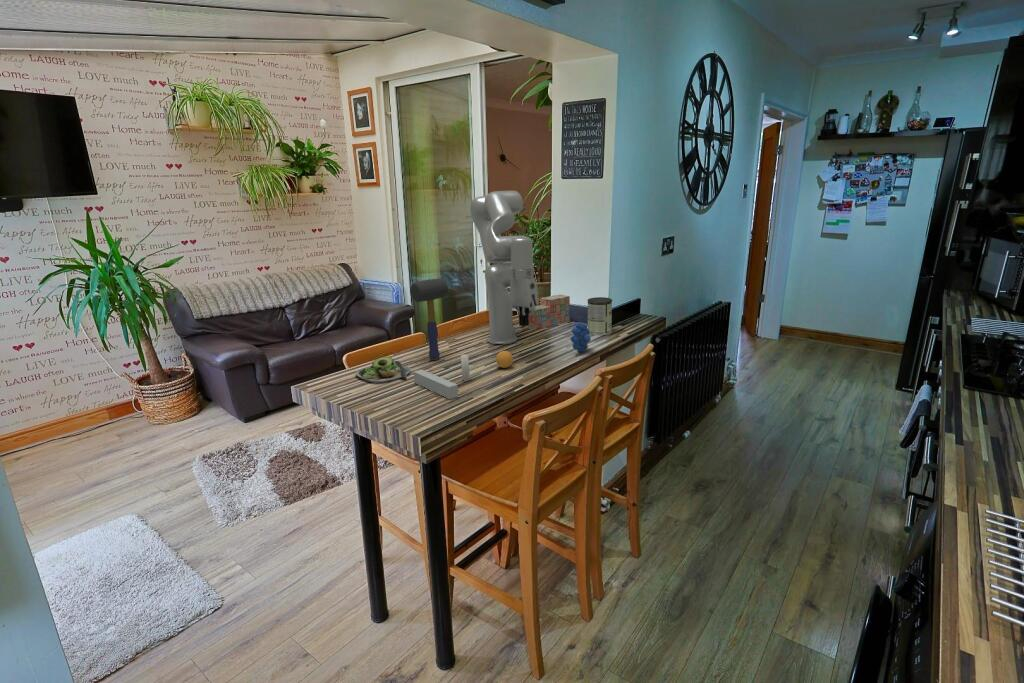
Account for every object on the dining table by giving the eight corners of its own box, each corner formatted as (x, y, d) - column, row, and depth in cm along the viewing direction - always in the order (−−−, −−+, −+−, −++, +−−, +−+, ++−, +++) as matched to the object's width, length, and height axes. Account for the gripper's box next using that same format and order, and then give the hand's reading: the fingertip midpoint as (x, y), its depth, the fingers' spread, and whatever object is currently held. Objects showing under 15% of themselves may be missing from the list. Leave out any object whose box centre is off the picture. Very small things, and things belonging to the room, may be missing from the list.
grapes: (582, 358, 191) (582, 326, 187) (566, 355, 195) (566, 324, 191) (598, 350, 199) (598, 319, 196) (583, 347, 203) (583, 317, 200)
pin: (466, 378, 175) (465, 353, 172) (471, 379, 173) (469, 355, 171) (460, 380, 173) (459, 355, 171) (465, 381, 171) (463, 357, 169)
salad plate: (425, 375, 180) (424, 362, 179) (380, 390, 168) (379, 376, 167) (393, 363, 193) (392, 351, 192) (349, 376, 181) (348, 364, 180)
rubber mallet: (426, 365, 188) (419, 283, 180) (414, 361, 194) (407, 280, 185) (454, 357, 196) (448, 278, 188) (442, 353, 202) (436, 276, 193)
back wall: (422, 380, 174) (421, 369, 173) (458, 396, 159) (457, 384, 158) (414, 383, 172) (413, 371, 171) (450, 399, 157) (449, 387, 156)
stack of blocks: (536, 330, 230) (535, 303, 226) (526, 328, 234) (526, 301, 231) (569, 321, 243) (569, 295, 240) (560, 319, 248) (560, 293, 244)
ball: (505, 363, 188) (505, 347, 186) (516, 367, 184) (516, 351, 182) (492, 367, 184) (492, 351, 182) (503, 371, 180) (503, 354, 178)
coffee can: (587, 328, 230) (587, 297, 226) (611, 328, 228) (611, 297, 224) (587, 335, 220) (587, 302, 216) (612, 335, 218) (612, 302, 215)
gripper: (545, 274, 178) (546, 326, 182) (515, 271, 189) (517, 320, 193) (529, 276, 173) (531, 330, 178) (500, 273, 184) (502, 324, 189)
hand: (524, 325), depth 185 cm, fingers closed
